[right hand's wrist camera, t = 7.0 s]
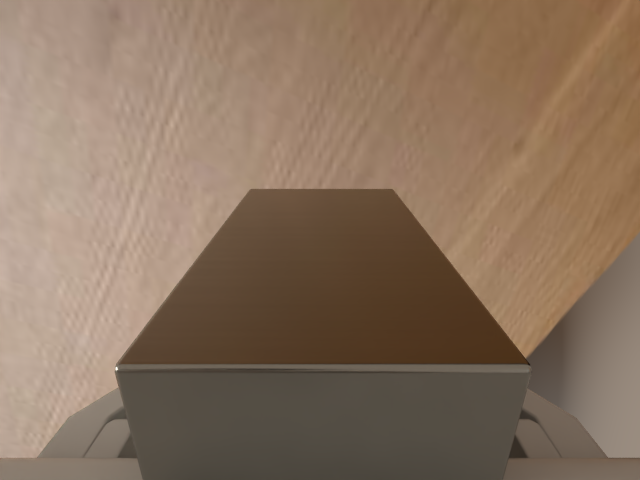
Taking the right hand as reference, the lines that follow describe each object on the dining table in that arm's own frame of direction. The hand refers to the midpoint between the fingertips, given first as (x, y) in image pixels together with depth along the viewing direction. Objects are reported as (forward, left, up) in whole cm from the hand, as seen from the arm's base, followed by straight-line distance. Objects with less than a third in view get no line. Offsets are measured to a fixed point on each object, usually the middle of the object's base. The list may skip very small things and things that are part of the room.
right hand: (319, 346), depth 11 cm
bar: (+9, 0, -3) cm, 9 cm away
